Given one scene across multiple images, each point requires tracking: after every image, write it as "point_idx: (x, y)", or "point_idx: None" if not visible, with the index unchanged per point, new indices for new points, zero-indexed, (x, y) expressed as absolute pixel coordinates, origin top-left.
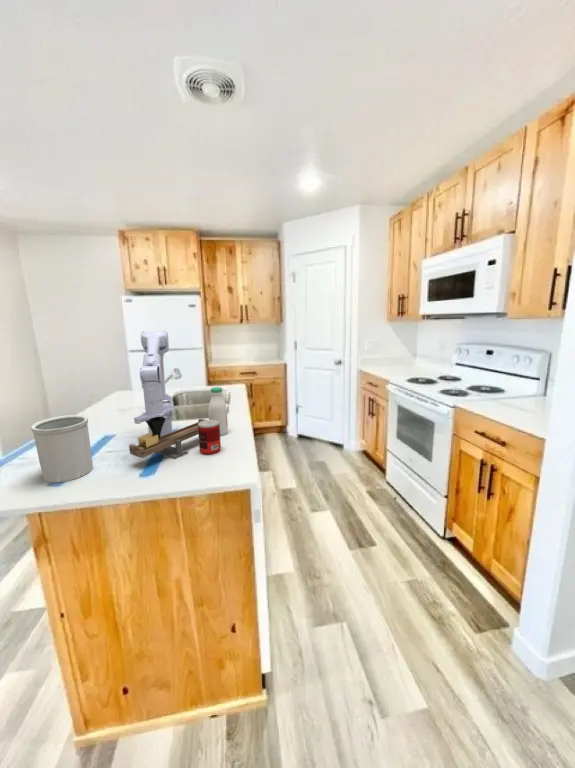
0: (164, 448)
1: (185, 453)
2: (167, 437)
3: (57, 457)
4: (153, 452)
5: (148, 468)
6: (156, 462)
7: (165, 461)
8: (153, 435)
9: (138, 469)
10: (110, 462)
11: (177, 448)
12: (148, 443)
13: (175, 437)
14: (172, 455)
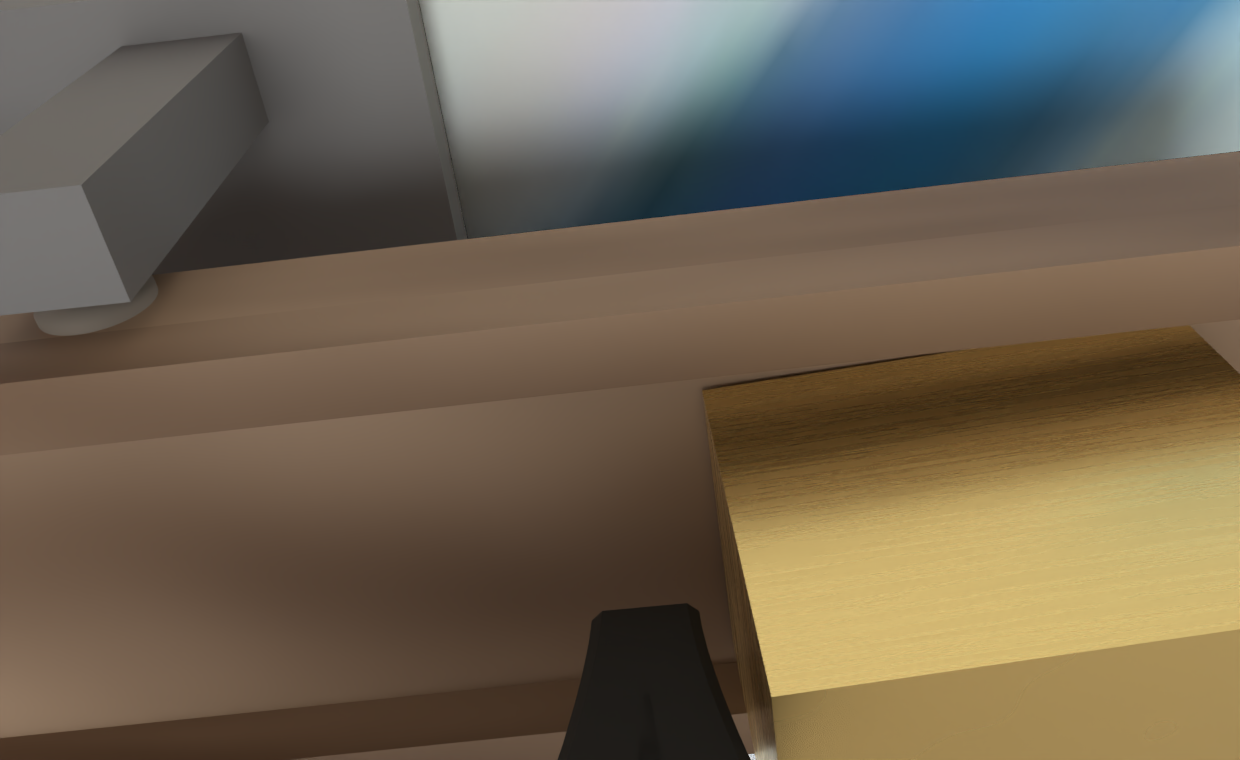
0: (594, 228)
1: (40, 1)
2: (211, 688)
3: None
4: (1014, 190)
5: (1110, 2)
6: (792, 154)
7: (636, 31)
8: (935, 735)
9: (1234, 140)
10: None
11: (193, 112)
12: (1212, 465)
13: (10, 546)
14: (389, 111)
